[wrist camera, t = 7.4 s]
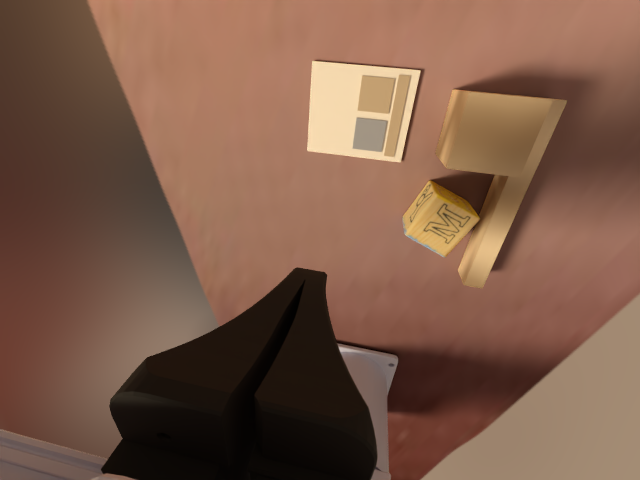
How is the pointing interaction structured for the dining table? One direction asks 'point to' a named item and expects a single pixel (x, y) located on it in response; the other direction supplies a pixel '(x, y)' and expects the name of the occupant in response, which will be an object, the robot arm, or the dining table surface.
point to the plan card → (360, 110)
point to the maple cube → (490, 131)
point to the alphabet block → (439, 219)
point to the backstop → (503, 207)
